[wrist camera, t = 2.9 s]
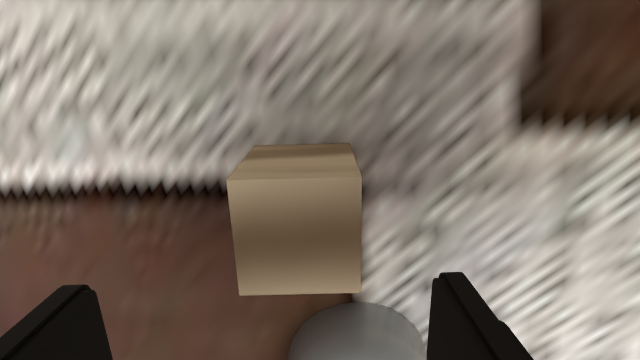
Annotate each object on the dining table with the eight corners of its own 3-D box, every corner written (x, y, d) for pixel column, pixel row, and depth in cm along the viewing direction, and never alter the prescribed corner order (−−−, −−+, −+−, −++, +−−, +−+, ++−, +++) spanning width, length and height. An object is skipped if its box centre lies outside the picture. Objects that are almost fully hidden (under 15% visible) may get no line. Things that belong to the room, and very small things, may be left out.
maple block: (254, 145, 19) (226, 180, 13) (348, 143, 19) (361, 176, 13) (262, 230, 20) (239, 295, 14) (349, 228, 20) (360, 292, 14)
